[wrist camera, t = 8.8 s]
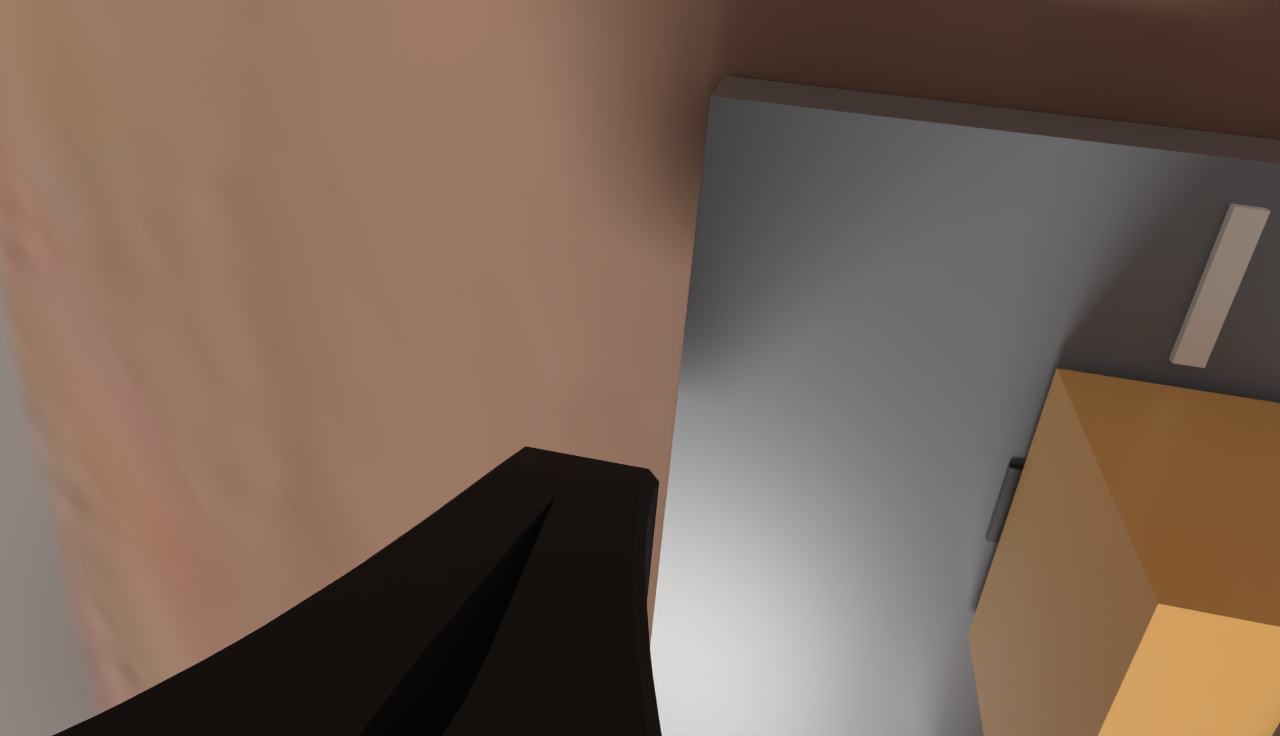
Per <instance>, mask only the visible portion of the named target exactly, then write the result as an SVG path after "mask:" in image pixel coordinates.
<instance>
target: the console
mask: <svg viewBox="0 0 1280 736" xmlns="http://www.w3.org/2000/svg"><path fill="white" fill-rule="evenodd" d="M1057 368H1059V369H1065V370H1072V371H1078V372H1085V373H1091V374H1097V375H1104V376H1110V377H1117V378H1123V379H1129V380H1136V381H1142V382H1149V383H1155V384H1161V385H1168V386H1174V387H1180V388H1187V389H1193V390H1200V391H1206V392H1212V393H1219V394H1225V395H1232V396H1238V397H1244V398H1251V399H1257V400H1264V401H1270V402H1276V403H1280V140H1279V139H1271V138H1262V137H1253V136H1245V135H1236V134H1227V133H1219V132H1210V131H1201V130H1193V129H1184V128H1175V127H1167V126H1158V125H1149V124H1141V123H1132V122H1123V121H1115V120H1106V119H1097V118H1089V117H1080V116H1071V115H1063V114H1054V113H1045V112H1037V111H1028V110H1019V109H1011V108H1002V107H993V106H985V105H976V104H967V103H959V102H950V101H941V100H933V99H924V98H915V97H907V96H898V95H889V94H881V93H872V92H863V91H855V90H846V89H837V88H829V87H820V86H811V85H803V84H794V83H785V82H777V81H768V80H759V79H751V78H742V77H733V76H725V77H724V79H723V80H722V81H721V83H720V84H719V85H718V86H717V88H716V89H715V90H714V92H713V93H712V94H711V96H710V102H709V111H708V121H707V130H706V139H705V148H704V157H703V167H702V176H701V185H700V194H699V203H698V213H697V222H696V231H695V240H694V249H693V259H692V268H691V277H690V286H689V295H688V305H687V314H686V323H685V332H684V341H683V351H682V360H681V369H680V378H679V387H678V396H677V406H676V415H675V424H674V433H673V442H672V452H671V461H670V470H669V479H668V488H667V498H666V507H665V516H664V525H663V534H662V544H661V553H660V562H659V571H658V580H657V590H656V599H655V608H654V617H653V626H652V636H651V645H650V653H651V662H652V671H653V679H654V686H655V693H656V700H657V707H658V713H659V720H660V727H661V733H662V736H984V733H983V726H982V720H981V713H980V707H979V700H978V694H977V687H976V681H975V674H974V667H973V661H972V654H971V648H970V641H969V635H968V633H969V630H970V627H971V624H972V621H973V618H974V615H975V612H976V609H977V606H978V603H979V600H980V597H981V594H982V591H983V588H984V585H985V582H986V579H987V576H988V573H989V570H990V567H991V564H992V561H993V558H994V555H995V552H996V549H997V546H998V543H999V540H1000V537H1001V534H1002V531H1003V528H1004V525H1005V522H1006V519H1007V516H1008V513H1009V510H1010V507H1011V504H1012V501H1013V498H1014V495H1015V492H1016V489H1017V486H1018V483H1019V480H1020V477H1021V474H1022V471H1023V468H1024V465H1025V462H1026V459H1027V456H1028V453H1029V450H1030V447H1031V444H1032V441H1033V438H1034V435H1035V432H1036V429H1037V426H1038V423H1039V420H1040V417H1041V414H1042V411H1043V408H1044V405H1045V402H1046V399H1047V396H1048V393H1049V390H1050V387H1051V384H1052V381H1053V378H1054V375H1055V372H1056V369H1057Z"/></svg>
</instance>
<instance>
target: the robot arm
mask: <svg viewBox="0 0 1280 736" xmlns="http://www.w3.org/2000/svg"><path fill="white" fill-rule="evenodd" d="M658 488H659V481H658V480H657V479H656V477H655V476H654V475H653V474H652V472H651V471H650V470H649V469H645V468H640V467H635V466H629V465H624V464H618V463H613V462H607V461H602V460H596V459H591V458H586V457H580V456H575V455H569V454H564V453H558V452H553V451H548V450H542V449H537V448H531V447H524V448H523V449H521V450H520V451H518V452H517V453H516V454H514V455H513V456H511V457H510V458H508V459H507V460H505V461H504V462H503V463H501V464H500V465H498V466H497V467H496V468H494V469H493V470H492V471H490V472H489V473H487V474H486V475H485V476H483V477H482V478H481V479H479V480H478V481H477V482H475V483H474V484H473V485H471V486H470V487H469V488H467V489H466V490H464V491H463V492H462V493H460V494H459V495H458V496H456V497H455V498H454V499H452V500H451V501H449V502H448V503H447V504H445V505H444V506H443V507H441V508H440V509H439V510H437V511H436V512H434V513H433V514H432V515H430V516H429V517H428V518H426V519H425V520H423V521H422V522H421V523H419V524H418V525H416V526H415V527H413V528H412V529H411V530H409V531H408V532H406V533H405V534H403V535H402V536H400V537H399V538H398V539H396V540H395V541H393V542H392V543H390V544H389V545H388V546H386V547H385V548H383V549H382V550H380V551H379V552H378V553H376V554H375V555H373V556H372V557H370V558H369V559H367V560H366V561H365V562H363V563H362V564H360V565H359V566H357V567H356V568H354V569H353V570H351V571H350V572H348V573H347V574H345V575H344V576H342V577H341V578H339V579H337V580H336V581H334V582H333V583H331V584H329V585H328V586H326V587H325V588H323V589H322V590H320V591H318V592H317V593H315V594H314V595H312V596H310V597H309V598H307V599H306V600H304V601H303V602H301V603H299V604H298V605H296V606H295V607H293V608H291V609H290V610H288V611H287V612H285V613H283V614H282V615H280V616H279V617H277V618H276V619H274V620H272V621H271V622H269V623H268V624H266V625H264V626H263V627H261V628H259V629H258V630H256V631H254V632H252V633H251V634H249V635H247V636H246V637H244V638H242V639H240V640H239V641H237V642H235V643H233V644H232V645H230V646H228V647H226V648H224V649H223V650H221V651H219V652H217V653H215V654H214V655H212V656H210V657H208V658H207V659H205V660H203V661H201V662H199V663H197V664H195V665H194V666H192V667H190V668H188V669H186V670H184V671H182V672H180V673H178V674H176V675H174V676H173V677H171V678H169V679H167V680H165V681H163V682H161V683H159V684H157V685H155V686H154V687H152V688H150V689H148V690H146V691H144V692H142V693H140V694H138V695H136V696H134V697H133V698H131V699H129V700H127V701H125V702H123V703H121V704H119V705H117V706H115V707H113V708H111V709H109V710H107V711H105V712H103V713H101V714H99V715H97V716H94V717H92V718H90V719H88V720H86V721H83V722H81V723H79V724H77V725H75V726H72V727H71V728H68V729H66V730H64V731H62V732H60V733H57V734H55V735H53V736H662V733H661V727H660V720H659V713H658V707H657V700H656V693H655V686H654V679H653V671H652V662H651V653H650V644H649V630H648V615H647V595H648V586H649V576H650V566H651V556H652V547H653V537H654V527H655V517H656V508H657V498H658Z"/></svg>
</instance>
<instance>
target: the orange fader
mask: <svg viewBox="0 0 1280 736" xmlns="http://www.w3.org/2000/svg"><path fill="white" fill-rule="evenodd" d="M968 635H969V641H970V648H971V654H972V661H973V667H974V674H975V681H976V687H977V694H978V700H979V707H980V713H981V720H982V726H983V733H984V736H1280V403H1276V402H1270V401H1264V400H1257V399H1251V398H1244V397H1238V396H1232V395H1225V394H1219V393H1212V392H1206V391H1200V390H1193V389H1187V388H1180V387H1174V386H1168V385H1161V384H1155V383H1149V382H1142V381H1136V380H1129V379H1123V378H1117V377H1110V376H1104V375H1097V374H1091V373H1085V372H1078V371H1072V370H1065V369H1059V368H1057V369H1056V372H1055V375H1054V378H1053V381H1052V384H1051V387H1050V390H1049V393H1048V396H1047V399H1046V402H1045V405H1044V408H1043V411H1042V414H1041V417H1040V420H1039V423H1038V426H1037V429H1036V432H1035V435H1034V438H1033V441H1032V444H1031V447H1030V450H1029V453H1028V456H1027V459H1026V462H1025V465H1024V468H1023V471H1022V474H1021V477H1020V480H1019V483H1018V486H1017V489H1016V492H1015V495H1014V498H1013V501H1012V504H1011V507H1010V510H1009V513H1008V516H1007V519H1006V522H1005V525H1004V528H1003V531H1002V534H1001V537H1000V540H999V543H998V546H997V549H996V552H995V555H994V558H993V561H992V564H991V567H990V570H989V573H988V576H987V579H986V582H985V585H984V588H983V591H982V594H981V597H980V600H979V603H978V606H977V609H976V612H975V615H974V618H973V621H972V624H971V627H970V630H969V633H968Z"/></svg>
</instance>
